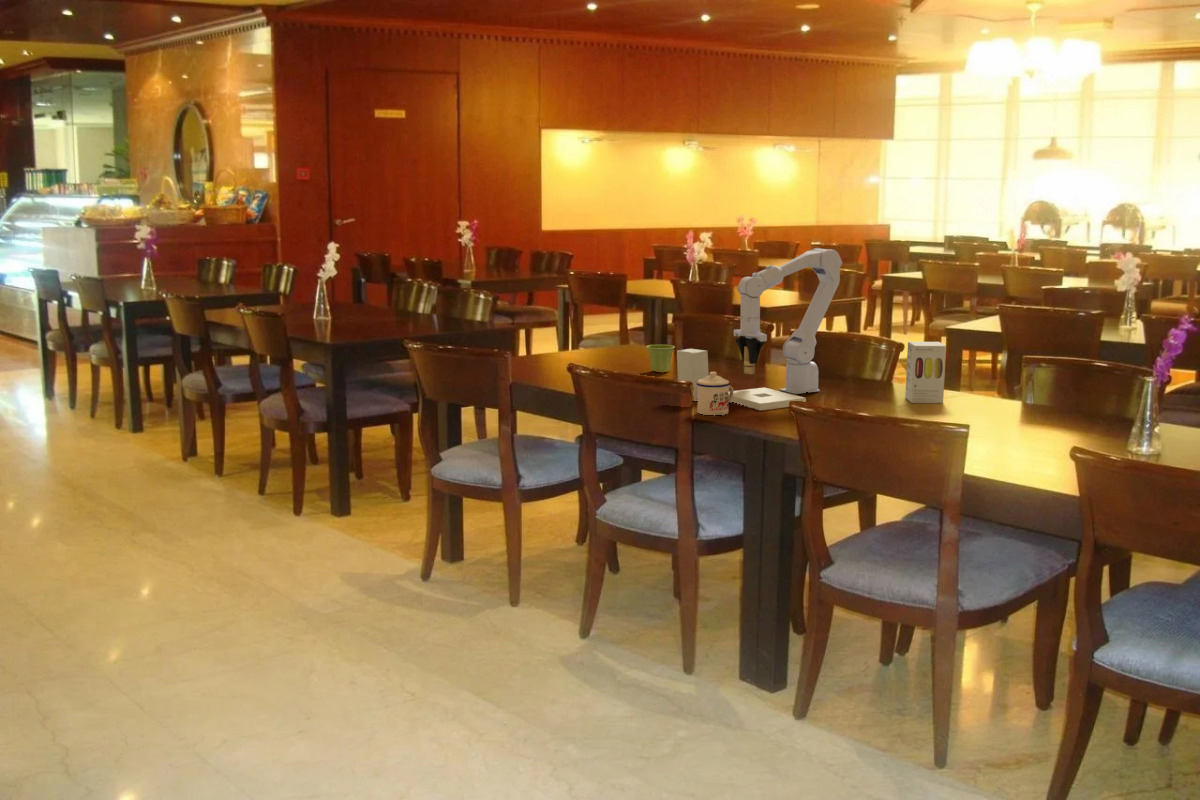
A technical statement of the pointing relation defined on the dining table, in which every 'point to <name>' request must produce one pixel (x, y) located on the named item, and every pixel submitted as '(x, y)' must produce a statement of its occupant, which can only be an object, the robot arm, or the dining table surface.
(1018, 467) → the dining table surface
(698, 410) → the teacup with lid
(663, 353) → the plant pot
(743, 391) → the board
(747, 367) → the peg
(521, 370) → the dining table surface
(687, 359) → the skincare box
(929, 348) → the supplement box
